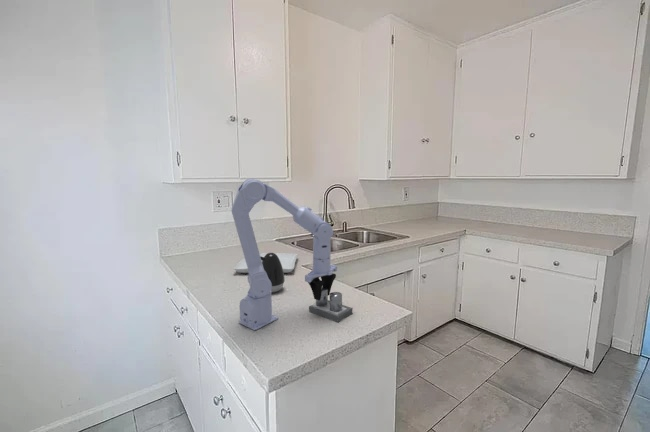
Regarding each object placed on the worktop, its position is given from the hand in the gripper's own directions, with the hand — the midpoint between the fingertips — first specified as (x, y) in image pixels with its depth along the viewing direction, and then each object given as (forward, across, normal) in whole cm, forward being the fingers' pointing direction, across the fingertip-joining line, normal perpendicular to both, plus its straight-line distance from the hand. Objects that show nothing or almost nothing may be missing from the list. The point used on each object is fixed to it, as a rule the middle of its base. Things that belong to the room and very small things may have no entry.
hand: (321, 296), depth 104 cm
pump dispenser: (+5, +2, +27) cm, 28 cm away
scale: (+5, +1, -3) cm, 6 cm away
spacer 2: (+3, 0, -6) cm, 6 cm away
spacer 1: (+2, 0, 0) cm, 2 cm away
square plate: (+6, +22, +51) cm, 56 cm away
